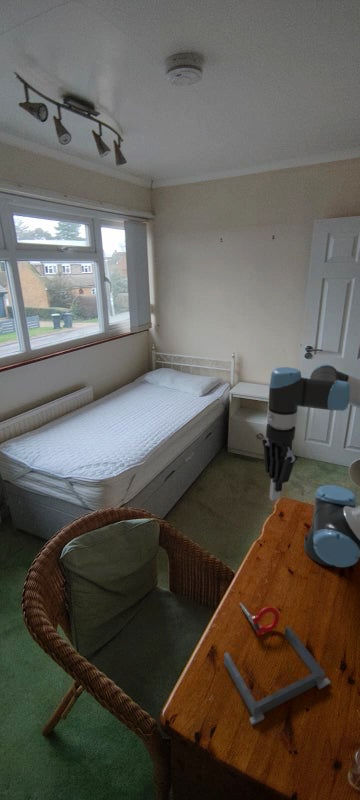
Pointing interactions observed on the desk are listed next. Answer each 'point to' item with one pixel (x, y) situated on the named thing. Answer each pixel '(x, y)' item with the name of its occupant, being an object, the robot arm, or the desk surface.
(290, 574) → the desk surface
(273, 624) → the tow hook
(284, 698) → the bracket
